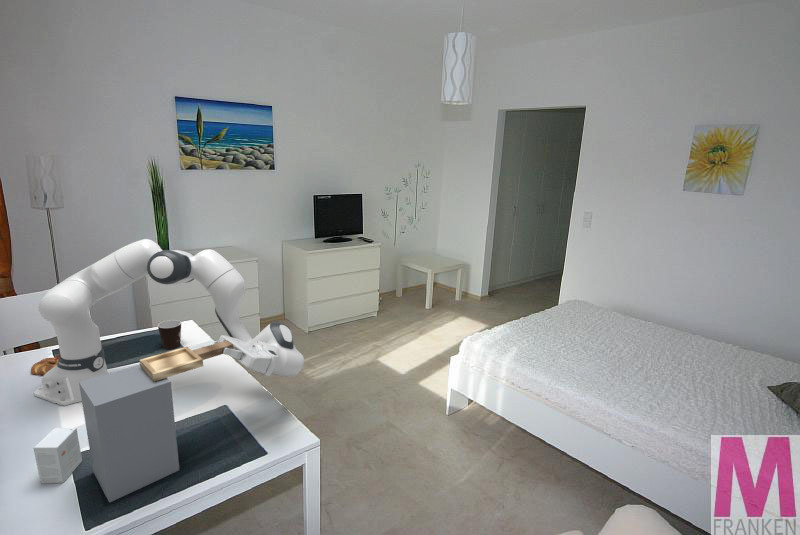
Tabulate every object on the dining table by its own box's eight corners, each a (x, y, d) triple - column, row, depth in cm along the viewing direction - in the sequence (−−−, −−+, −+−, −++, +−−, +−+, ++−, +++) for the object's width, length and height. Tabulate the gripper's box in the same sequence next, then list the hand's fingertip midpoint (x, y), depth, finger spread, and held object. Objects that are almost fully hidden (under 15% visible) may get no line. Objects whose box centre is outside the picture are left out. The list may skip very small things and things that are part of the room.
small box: (60, 461, 118) (54, 427, 115) (83, 461, 118) (77, 427, 115) (39, 484, 110) (32, 447, 107) (63, 483, 110) (56, 447, 108)
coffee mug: (173, 352, 179) (171, 329, 176) (155, 349, 181) (152, 326, 178) (192, 340, 190) (190, 318, 187) (174, 337, 192) (172, 316, 189)
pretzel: (30, 380, 155) (28, 371, 154) (32, 367, 163) (30, 358, 162) (72, 371, 162) (71, 362, 160) (72, 359, 170) (71, 350, 169)
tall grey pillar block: (159, 444, 126) (150, 361, 119) (179, 470, 117) (170, 381, 110) (93, 472, 115) (78, 381, 108) (109, 502, 105) (94, 406, 98)
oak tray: (222, 342, 131) (222, 336, 130) (239, 354, 124) (238, 348, 124) (140, 366, 115) (139, 359, 115) (154, 381, 109) (153, 374, 108)
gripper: (246, 335, 142) (207, 325, 132) (281, 358, 129) (241, 348, 119) (238, 354, 142) (198, 345, 131) (272, 378, 128) (231, 370, 118)
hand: (219, 347), depth 125 cm, fingers open, 4 cm apart
